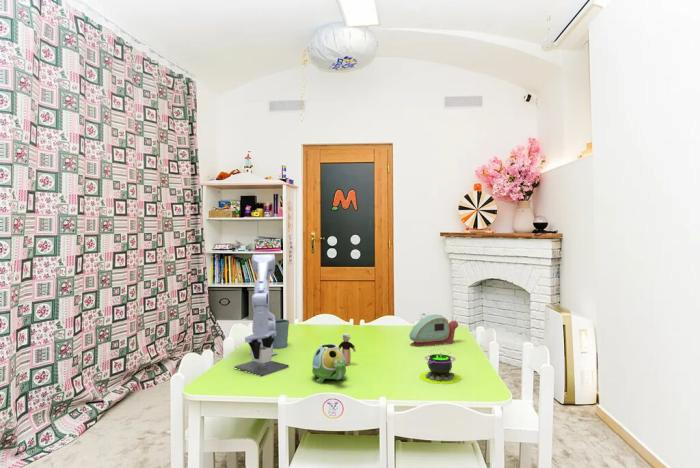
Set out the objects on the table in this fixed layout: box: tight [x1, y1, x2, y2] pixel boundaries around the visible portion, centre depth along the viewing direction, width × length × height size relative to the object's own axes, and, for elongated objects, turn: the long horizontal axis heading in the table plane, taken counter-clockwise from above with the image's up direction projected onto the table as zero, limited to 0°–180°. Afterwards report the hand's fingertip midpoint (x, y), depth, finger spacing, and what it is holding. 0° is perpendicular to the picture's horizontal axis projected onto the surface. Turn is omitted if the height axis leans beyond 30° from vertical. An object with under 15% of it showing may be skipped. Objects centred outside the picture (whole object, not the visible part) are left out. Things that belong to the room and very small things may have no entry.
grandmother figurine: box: [337, 332, 357, 366], centre depth 187 cm, size 8×4×13 cm, turn 82°
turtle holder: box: [311, 343, 348, 384], centre depth 168 cm, size 12×18×12 cm
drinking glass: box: [273, 318, 290, 350], centre depth 217 cm, size 10×10×12 cm
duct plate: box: [233, 360, 290, 377], centre depth 183 cm, size 16×14×4 cm
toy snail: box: [409, 314, 459, 347], centre depth 220 cm, size 25×8×14 cm, turn 107°
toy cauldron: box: [419, 345, 462, 385], centre depth 169 cm, size 15×15×11 cm
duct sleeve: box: [251, 346, 272, 363], centre depth 183 cm, size 6×4×5 cm
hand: (261, 357), depth 183 cm, fingers closed on duct sleeve, 4 cm apart
